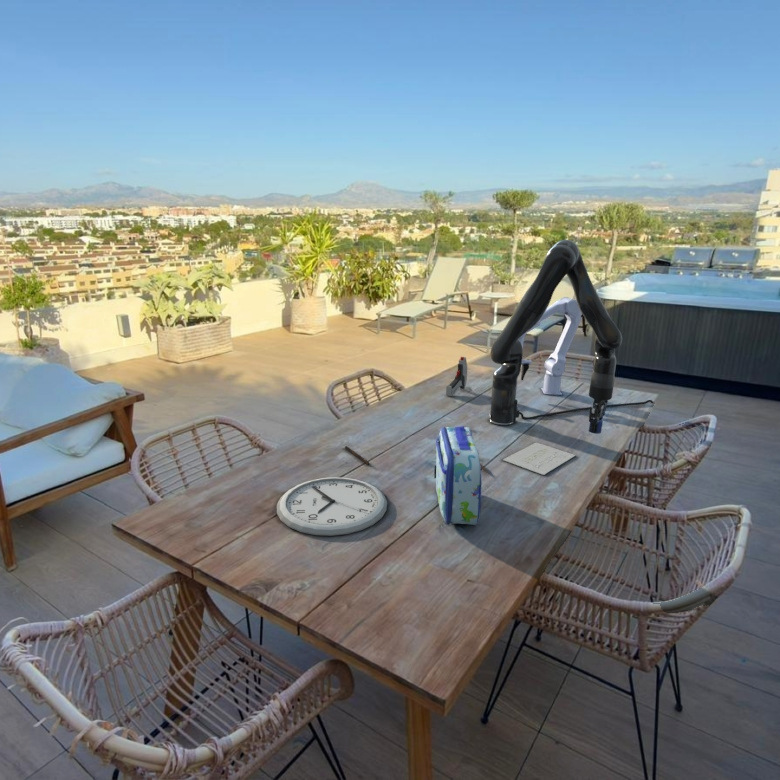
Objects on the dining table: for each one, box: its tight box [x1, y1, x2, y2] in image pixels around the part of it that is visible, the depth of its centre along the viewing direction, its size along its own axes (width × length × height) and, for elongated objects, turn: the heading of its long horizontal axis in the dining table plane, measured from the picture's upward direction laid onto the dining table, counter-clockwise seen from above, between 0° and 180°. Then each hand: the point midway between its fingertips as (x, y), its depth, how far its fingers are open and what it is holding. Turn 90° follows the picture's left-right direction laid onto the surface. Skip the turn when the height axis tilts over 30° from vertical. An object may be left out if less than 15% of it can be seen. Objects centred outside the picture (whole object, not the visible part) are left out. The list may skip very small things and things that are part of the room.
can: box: [588, 419, 604, 435], centre depth 185 cm, size 4×4×4 cm
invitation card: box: [502, 442, 577, 476], centre depth 174 cm, size 21×1×15 cm
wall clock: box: [276, 476, 388, 537], centre depth 142 cm, size 30×2×30 cm
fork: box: [480, 463, 488, 474], centre depth 169 cm, size 3×16×2 cm, turn 15°
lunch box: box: [433, 425, 482, 526], centre depth 140 cm, size 26×11×21 cm, turn 179°
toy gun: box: [445, 356, 468, 397], centre depth 239 cm, size 2×16×15 cm
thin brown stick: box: [344, 445, 370, 465], centre depth 173 cm, size 15×1×1 cm, turn 34°
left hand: (595, 430), depth 185 cm, fingers closed on can, 4 cm apart
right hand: (513, 379), depth 241 cm, fingers open, 7 cm apart
